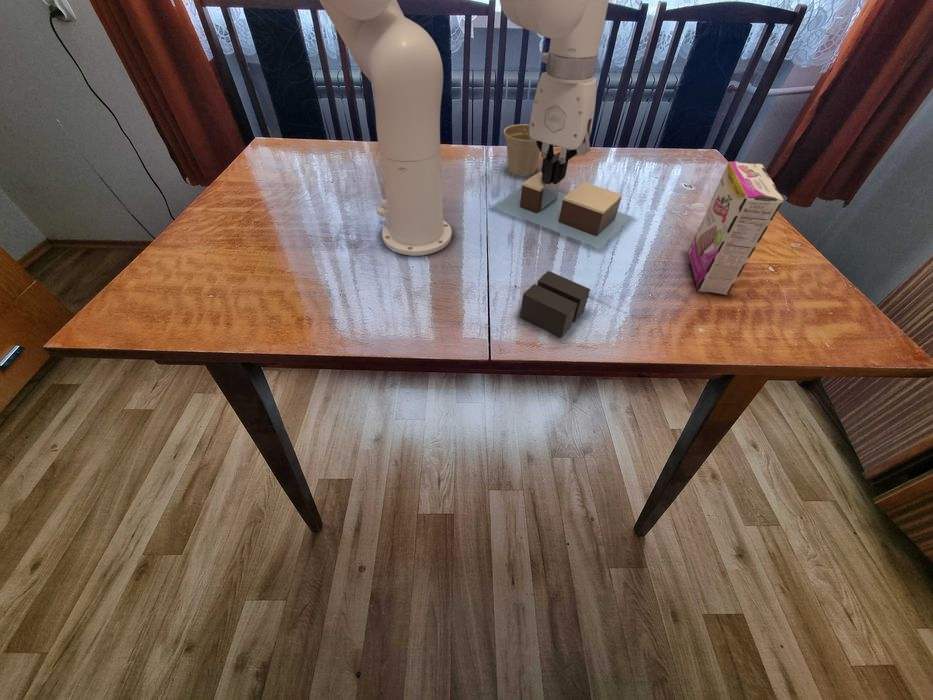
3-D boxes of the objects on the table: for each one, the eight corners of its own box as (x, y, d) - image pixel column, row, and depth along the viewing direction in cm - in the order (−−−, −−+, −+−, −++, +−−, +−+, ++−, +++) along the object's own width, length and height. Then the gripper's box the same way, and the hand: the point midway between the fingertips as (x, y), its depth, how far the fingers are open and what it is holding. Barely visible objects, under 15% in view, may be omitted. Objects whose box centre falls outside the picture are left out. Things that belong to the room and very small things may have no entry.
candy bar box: (684, 253, 74) (727, 159, 62) (714, 257, 73) (763, 162, 61) (694, 292, 67) (746, 194, 55) (728, 297, 66) (787, 199, 54)
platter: (493, 209, 84) (493, 206, 83) (530, 184, 91) (530, 181, 91) (598, 250, 74) (599, 247, 74) (630, 219, 82) (631, 216, 81)
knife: (544, 210, 81) (551, 164, 75) (537, 208, 82) (543, 161, 75) (559, 199, 85) (567, 153, 78) (552, 196, 85) (560, 151, 79)
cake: (558, 222, 80) (563, 197, 76) (578, 206, 84) (583, 181, 80) (596, 236, 76) (603, 211, 73) (615, 219, 81) (622, 194, 77)
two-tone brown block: (519, 207, 83) (522, 182, 80) (540, 192, 88) (543, 168, 84) (536, 213, 82) (540, 189, 78) (557, 198, 86) (561, 174, 82)
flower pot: (494, 165, 98) (497, 126, 91) (531, 161, 100) (536, 121, 93) (509, 183, 92) (513, 142, 85) (548, 178, 94) (555, 137, 87)
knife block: (519, 317, 62) (522, 293, 59) (543, 293, 66) (548, 270, 63) (561, 338, 59) (567, 314, 56) (583, 312, 63) (590, 289, 60)
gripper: (516, 62, 67) (507, 175, 81) (606, 81, 61) (580, 200, 74) (540, 53, 71) (527, 162, 85) (627, 70, 65) (598, 185, 79)
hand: (552, 179), depth 80 cm, fingers closed on knife, 1 cm apart
